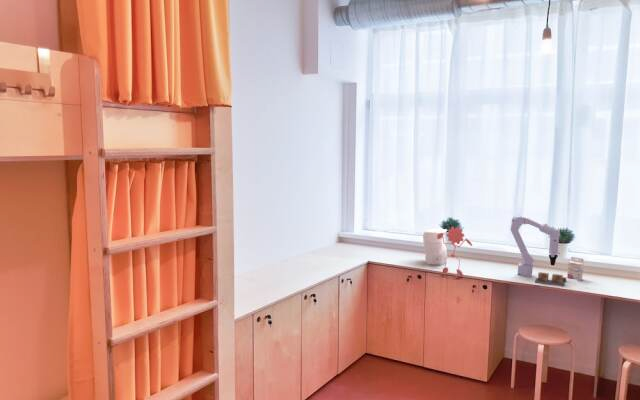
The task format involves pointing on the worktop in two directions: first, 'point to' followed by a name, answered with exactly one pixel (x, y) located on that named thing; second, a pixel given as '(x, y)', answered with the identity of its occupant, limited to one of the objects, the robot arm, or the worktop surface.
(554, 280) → the block
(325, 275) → the worktop surface
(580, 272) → the ink cartridge box
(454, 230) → the figurine
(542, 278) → the block
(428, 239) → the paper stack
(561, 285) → the grey divided tray
